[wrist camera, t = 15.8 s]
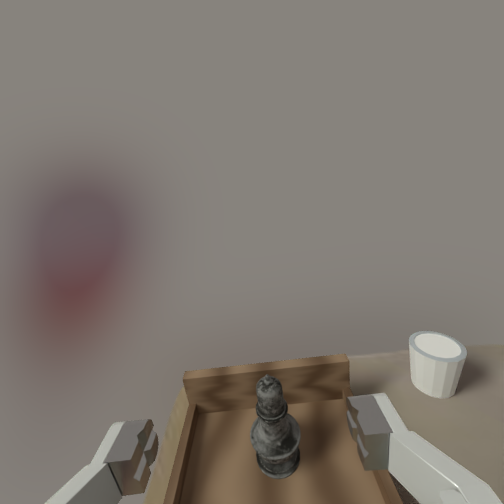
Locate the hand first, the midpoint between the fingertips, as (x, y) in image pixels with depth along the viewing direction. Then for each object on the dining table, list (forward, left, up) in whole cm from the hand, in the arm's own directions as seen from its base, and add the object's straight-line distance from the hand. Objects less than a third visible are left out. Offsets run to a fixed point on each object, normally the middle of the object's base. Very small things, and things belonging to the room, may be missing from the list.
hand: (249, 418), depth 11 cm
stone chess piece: (0, -14, -23) cm, 27 cm away
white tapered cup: (-25, -23, -25) cm, 42 cm away
